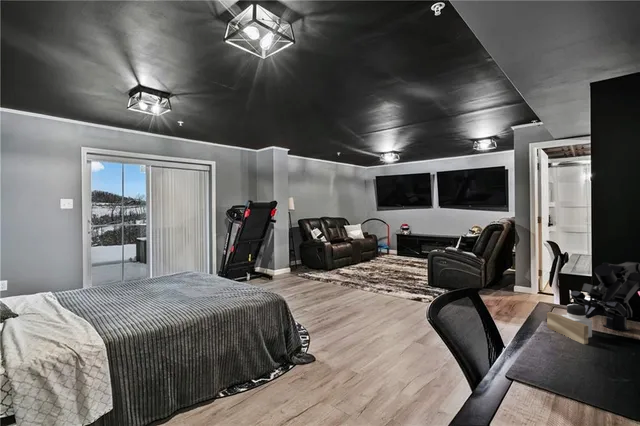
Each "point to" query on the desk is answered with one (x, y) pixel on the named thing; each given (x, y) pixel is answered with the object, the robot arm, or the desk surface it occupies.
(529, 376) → the desk surface
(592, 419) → the desk surface
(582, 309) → the medicine bottle
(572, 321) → the oak wall
